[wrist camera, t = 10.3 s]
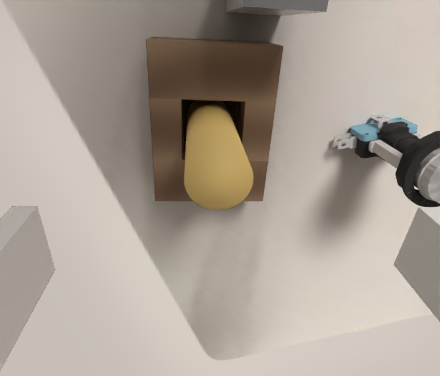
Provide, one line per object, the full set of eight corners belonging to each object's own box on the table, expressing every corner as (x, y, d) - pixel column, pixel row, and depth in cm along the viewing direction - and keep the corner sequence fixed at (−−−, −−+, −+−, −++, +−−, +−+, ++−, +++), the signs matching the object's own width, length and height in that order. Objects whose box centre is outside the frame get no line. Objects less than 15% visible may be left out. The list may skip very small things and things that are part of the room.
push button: (330, 164, 30) (389, 224, 21) (331, 110, 27) (398, 152, 18) (399, 152, 29) (486, 207, 21) (406, 96, 27) (510, 132, 18)
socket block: (152, 36, 23) (146, 39, 20) (269, 42, 24) (283, 46, 20) (159, 179, 29) (155, 200, 25) (254, 180, 30) (262, 201, 26)
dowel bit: (187, 95, 25) (183, 147, 15) (230, 96, 26) (256, 148, 15) (187, 136, 27) (184, 209, 17) (227, 137, 27) (249, 210, 17)
